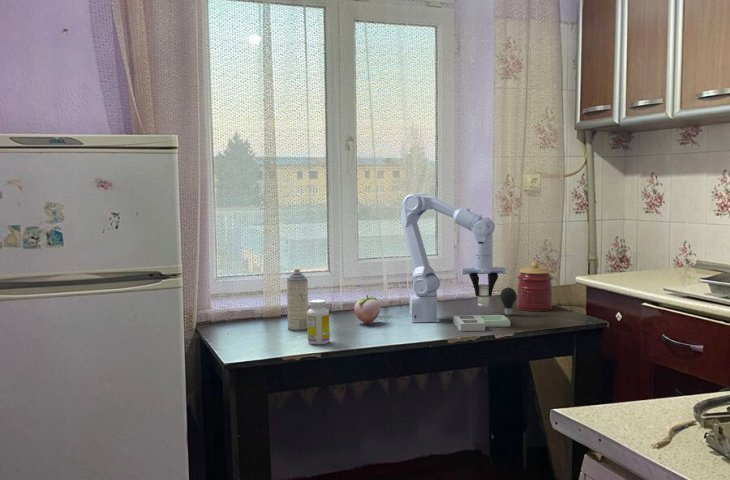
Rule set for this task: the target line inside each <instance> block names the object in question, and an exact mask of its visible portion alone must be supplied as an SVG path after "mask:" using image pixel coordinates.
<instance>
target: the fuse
mask: <svg viewBox="0 0 730 480" xmlns="http://www.w3.org/2000/svg"><path fill="white" fill-rule="evenodd" d="M477 307H478V308H489V307H490V296H489V285H488V284H485V283H484V284H483V283H481V284H479V296H477Z"/></svg>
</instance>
